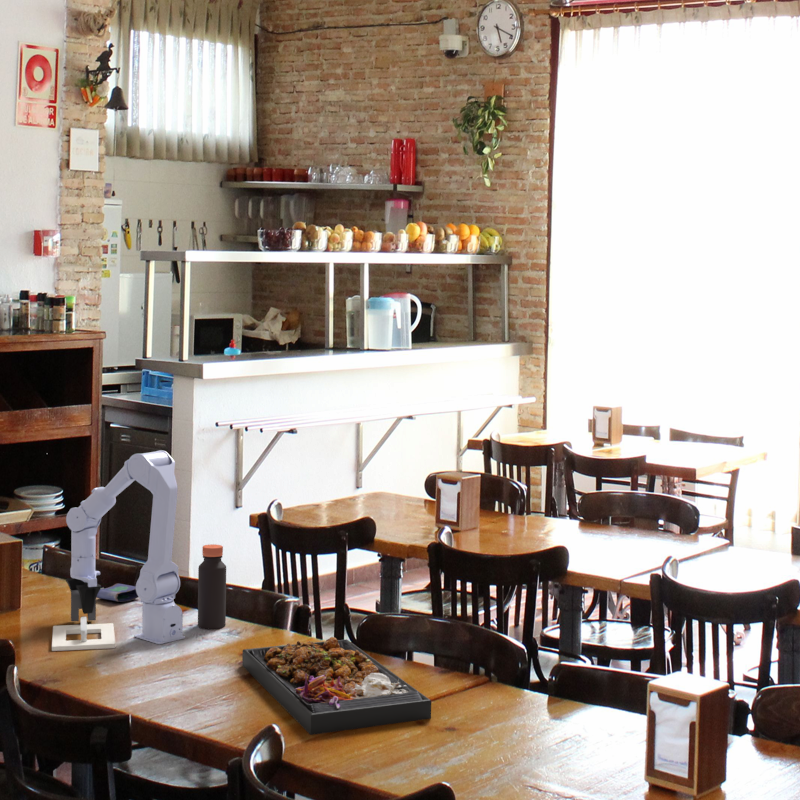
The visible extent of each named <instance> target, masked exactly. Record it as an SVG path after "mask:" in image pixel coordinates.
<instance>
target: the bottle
mask: <svg viewBox="0 0 800 800" xmlns="http://www.w3.org/2000/svg"><path fill="white" fill-rule="evenodd" d="M223 551H224V546H223V545H222V544H216V543H215V544H214V543H213V544H205V545H204V544H203V546H202V558H203V561H202V562H201V563H200V564H199V565H198V572H197V573H198V574H197V576H198V577H197V578H198V581H197V583H198V584H197V585H198V586H197V627H198V628H199V629H202V630H207V631H208V630H211V631H213V630H220V629H223V628H225V627H226V617H227V614H226V612H227V609H226V608H227V603H226V602H227V565H226V564H225V563H224V562H223V561H222V558H223V555H224V553H223Z"/></svg>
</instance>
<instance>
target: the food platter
mask: <svg viewBox="0 0 800 800" xmlns="http://www.w3.org/2000/svg"><path fill="white" fill-rule="evenodd" d="M241 658H242V661H241V662H242V663H241V664H242V667H243V669H244V670H246V671H247V672H248V673H249V674H250V676H252V677H253V678H254V679H255V680H256V681H257V683H258V684H260V686H262V687H263V689H265V690H266V691H267V692H268V694H269V695H270V696H272V697H273V698H274V700H276V701H277V703H278V704H279V705H281V707H282V708H283V709H284V710H285V711H286V712H287V713H288V714H289V715H290V716H291V717H292V718H293V719H294V720H295V721H296V722H297V723H298V724H299V725H300V726H301V727H302V728H303V729H304V730H305V731H306V732H307V733H308V735H310V736H314V735H320V734H328V733H335V732H343V731H348V730H351V731H352V730H358V729H363V728H373V727H379V726H386V725H394V724H400V723H406V722H407V723H408V722H413V721H414V722H416V721H422V720H423V721H424V720H430V719H431V718H432V701H431V699H430V698H429V697H427V696H426V695H424V694H423V693H421V692H420V690H419V691H418V690H417V689H416V688H415V687H413V685H410V684H409V683H407V682H406V681H405V680H404V679H402V678H401V677H400V676H398V675H396V674H395V673H394V672H392V671H391V670H390V669H388V668H387V667H386V666H385V665H383V664H381V663H380V662H379V661H378V660H376V659H375V658H373V657H372V656H370V655H369V654H368V653H366V652H365V651H364V650H362V649H361V648H359V647H358V646H357V645H356V644H354V643H353V642H351V641H350V640H349V639H337V638H336V637H333V636H331V637H329V638H326V640H325V641H318V642H317V641H316V642H314V641H309V640H308V641H307V642H304V641H300V640H298V641H296V644H291V643H287V644H285V645H278V646H276V645H275V646H266V647H265V646H264V647H254V648H253V647H252V648H246V649H245V648H244V649H242V657H241Z"/></svg>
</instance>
